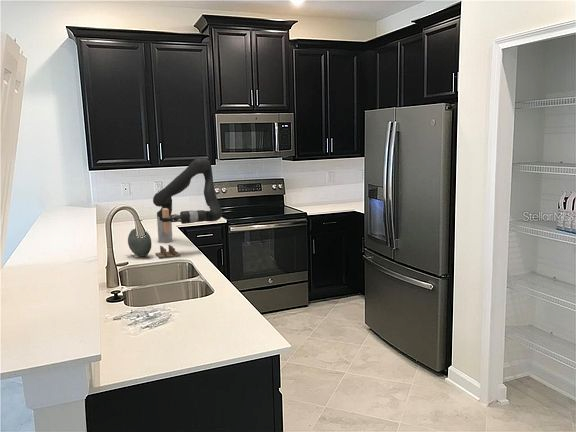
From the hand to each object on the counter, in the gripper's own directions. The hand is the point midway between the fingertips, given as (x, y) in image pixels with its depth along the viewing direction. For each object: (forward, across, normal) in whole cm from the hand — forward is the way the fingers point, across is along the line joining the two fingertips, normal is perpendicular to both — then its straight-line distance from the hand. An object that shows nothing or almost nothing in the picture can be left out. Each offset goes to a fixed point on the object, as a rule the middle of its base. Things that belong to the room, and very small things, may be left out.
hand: (160, 219), depth 282 cm
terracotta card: (-3, 0, +8) cm, 9 cm away
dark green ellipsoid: (+12, -6, +22) cm, 26 cm away
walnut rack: (-3, 0, +22) cm, 22 cm away
